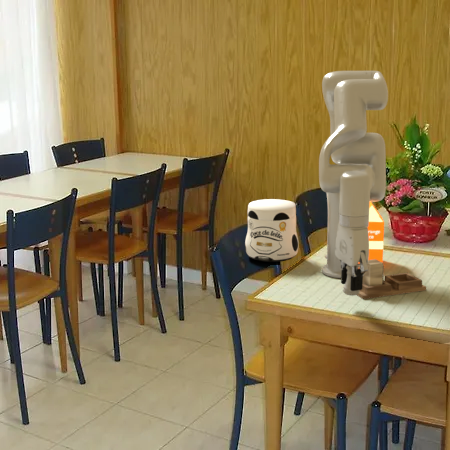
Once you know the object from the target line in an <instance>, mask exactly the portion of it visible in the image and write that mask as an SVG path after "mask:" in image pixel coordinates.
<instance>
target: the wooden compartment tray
mask: <svg viewBox="0 0 450 450" xmlns="http://www.w3.org/2000/svg"><path fill="white" fill-rule="evenodd" d="M367 265H368V271H366V272H365V273H364V276H363V285H362V290H360V292H359V294H357V295H356V296H357V297H359V298H360V299H362V300H369V299H375V298H381V297H382V298H384V297H389V296H394V295H402V294H409V293H415V292H417V293H418V292H423V291H427V286H426V285H424V284H423V280H422V279H420V278H418V277H417V276H415V275H414V274H413V275H412V274H411V273H409V272H402V273H396V274H387V275H384V262H383V263H382V262H380V261H378V260H377V259H372V260H368V264H367Z"/></svg>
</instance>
